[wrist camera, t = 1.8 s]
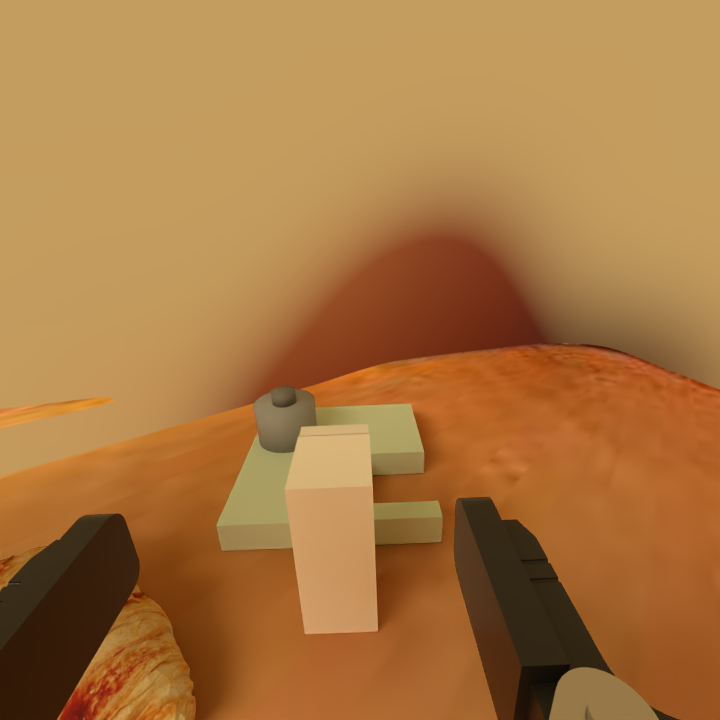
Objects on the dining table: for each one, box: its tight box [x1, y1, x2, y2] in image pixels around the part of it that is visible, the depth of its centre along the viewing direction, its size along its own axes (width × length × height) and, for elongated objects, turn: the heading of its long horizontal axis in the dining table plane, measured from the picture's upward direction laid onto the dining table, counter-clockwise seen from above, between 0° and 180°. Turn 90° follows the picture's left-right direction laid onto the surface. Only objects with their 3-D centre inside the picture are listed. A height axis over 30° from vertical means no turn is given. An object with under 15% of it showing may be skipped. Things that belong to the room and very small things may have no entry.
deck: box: [216, 386, 443, 551], centre depth 36 cm, size 17×18×8 cm
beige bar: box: [285, 424, 378, 634], centre depth 24 cm, size 4×6×11 cm
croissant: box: [0, 546, 196, 720], centre depth 22 cm, size 21×10×8 cm, turn 71°
